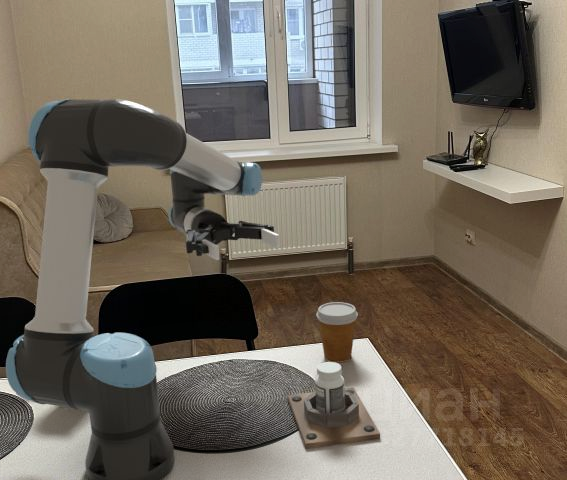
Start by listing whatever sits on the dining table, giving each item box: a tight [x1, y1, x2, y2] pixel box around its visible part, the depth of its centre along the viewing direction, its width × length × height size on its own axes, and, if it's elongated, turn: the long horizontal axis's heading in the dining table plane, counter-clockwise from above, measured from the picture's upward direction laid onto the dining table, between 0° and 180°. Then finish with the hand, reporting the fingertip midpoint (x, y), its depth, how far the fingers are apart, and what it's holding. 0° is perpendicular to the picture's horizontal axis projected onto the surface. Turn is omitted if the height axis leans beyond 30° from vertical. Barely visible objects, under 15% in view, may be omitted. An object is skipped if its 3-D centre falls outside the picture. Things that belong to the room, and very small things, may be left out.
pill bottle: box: [314, 361, 346, 413], centre depth 126 cm, size 6×6×10 cm
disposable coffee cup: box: [315, 301, 358, 363], centre depth 152 cm, size 10×10×12 cm
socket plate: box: [287, 387, 381, 449], centre depth 127 cm, size 14×18×4 cm
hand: (248, 247), depth 130 cm, fingers open, 13 cm apart
